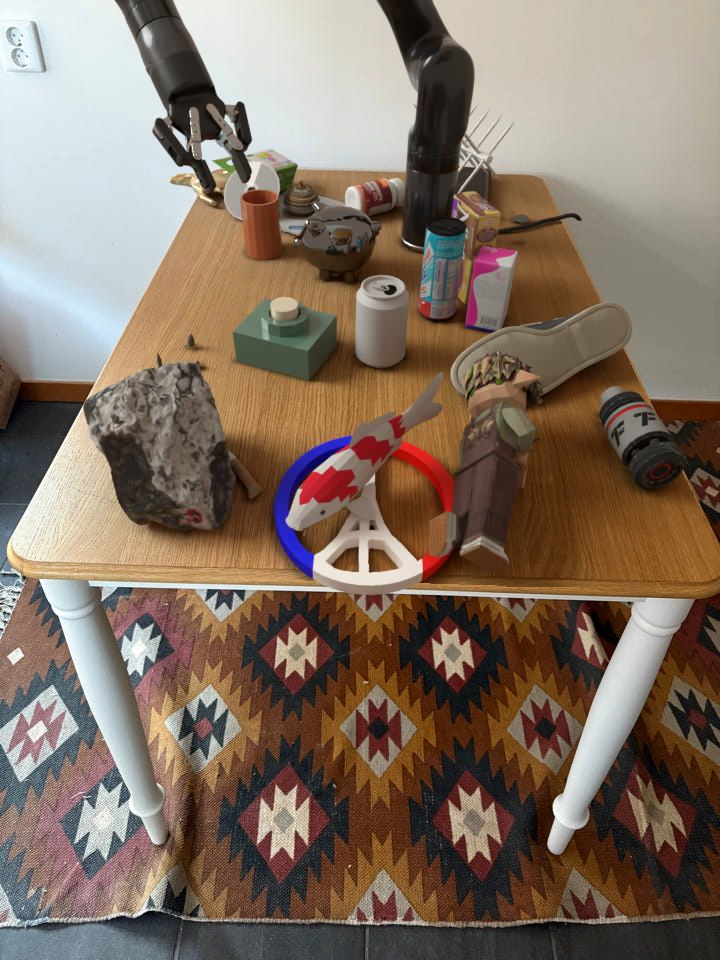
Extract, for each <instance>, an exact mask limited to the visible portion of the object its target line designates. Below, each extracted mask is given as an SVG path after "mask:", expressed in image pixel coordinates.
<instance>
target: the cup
mask: <svg viewBox="0 0 720 960" xmlns="http://www.w3.org/2000/svg"><path fill="white" fill-rule="evenodd" d="M249 190H250V191H247V192H245V193H243V194H242V195H241V197H240V204H241V213H242V220H241V222H242V223H241V224H242V231H243V241H244V250H245V253H246V255H247V256H248V257H249V258H251V259H254V260H259V261H260V260H261V261H262V260H263V261H265V260H271V259H275V258H277V257H279V256H281V254H282V252H283V243H282V242H283V241H282V230H281V225H280V210H279V196H278V195H277V193H275V192H273V191H270V190H263V189H257V190H253V189H249Z"/></svg>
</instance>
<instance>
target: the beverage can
mask: <svg viewBox="0 0 720 960" xmlns="http://www.w3.org/2000/svg"><path fill="white" fill-rule="evenodd" d="M465 234H466V224H465V223H464V222H463V221H461V220H459V219H457V218H453V217H436V218H432V219H430V220H429V221H428V222H427V228H426V236H425V247H424V252H423V259H422V270H421V279H420V280H421V281H420V292H419V302H418V310H419V314H420V316H421V317H423V319H425V320H428V321H431V322H437V323H441V322H446V321H449V320H450V319H452V318H453V316H454V314H455V312H456V307H457V301H458V296H457V293H458V286H459V279H460V272H461V264H462V257H463V249H464V242H465Z"/></svg>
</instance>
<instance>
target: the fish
mask: <svg viewBox="0 0 720 960" xmlns="http://www.w3.org/2000/svg"><path fill="white" fill-rule="evenodd" d="M443 379H444V371H441V372H440V373H438V374H436V375H435V376H434V378H433V379H432V380H431V381H430V382H429V383H428V385H427V386H426V387H425V388H424V390H423V391H422V392H421V393H420V395H419V396H418V397H417V398H416V399H415V401H414V402H413V403H412V404H411V405H410V407H409V408H407V410H405V411H404V412H402V413H401V414H398V415H397V411H390V412H387V413H384V414H381V415H380V416H378V417H376V418H375V419H373V420H371V421H370V422H364V421H362V422H361V423H360V424H359V425H357V427H356V428H355V430H354V432H353V434H352V435H351V436H352V439H351V441H350V444H349V445H347V446H346V447H344V448H343V449H341V450H340V451H338V452H337V453H335V454H334V455H332V456H331V457H330V458H328V459H327V460H326V461H325V462H324V463H322V464H321V465H319V466H317V467H316V468H314V469H313V470H312V471H311V473H309V474H308V476H307V478H306V479H305V480H304V481H303V482H302V484H301V485H300V486H299V487H298V488H297V489H296V491H295V495H294V498H293V500H292V504H291V505H290V509H289V515H288V517H287V518H286V523H287V525H288V526H289V527H291V528H293V530H295V531H297V532H298V531H299V532H301V531H303V535H305V534H306V529H307V528H309V527H310V526H312V525H314V524H317V523H319V522H321V521H323V520H325V519H327V518H328V517H330V516H332V515H333V514H336V513H337V512H339V511H341V510H342V509H343V508H344V507H346V509H348V510H349V511H350V513H351V512H353V513H354V514H356V515H357V516H359V517H362V518H365V519H369V520H375V511H374V509H373V507H372V504H371V502H370V501H369V499H368V497H366V496H362V497H361V496H360V497H358V498H356V499H354V497H356V496H357V495H358V493H359V492H360V491H362V490H363V487H364V486H365V485H366V483H368V482H369V480H370V479H371V478H372V477H373V475H374V474H375V475H376V473H377V472H378V471H379V470H380V468H381V467H382V466H383V464H385V462H386V461H387V460H388V459H389V457H391V456H390V455H391V454H393V453H394V452H395V451H396V450H397V449H398V448H399V447H401V444H402V441H404V440H403V437H404V436H405V435H406V434H407V433H408V432H409V431H411V430H413V428H415V427H417V426H419V425H421V424H424V423H426V422H428V421H430V420H432V419H434V418H436V417H437V416H438V415H439V414H441V412H442V411H443V409H444V406H443V404H442V403H441V402H437V401H434V399H435V397H436V395H437V393H438V391H439V389H440V387H441V384H442V381H443Z"/></svg>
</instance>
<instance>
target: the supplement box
mask: <svg viewBox="0 0 720 960" xmlns="http://www.w3.org/2000/svg"><path fill="white" fill-rule="evenodd" d="M517 258H518V250H513V249H506V248H500V247H496V246H495V247H488V246H482V247H481V249H480V252H479V253H478V255H477V257H476V259H475V261H474V267H473V275H472V281H471V289H470V296H469V303H468V304H467V311H466V316H465V317H466V318H465V323H464V324H465V328H467V329H472V330H477V331H482V332H487V333H488V332H489V333H493V332H495V331H498V330H500V329H503V327H504V324H505V321H506V319H507V315H508V308H509V303H510V296H511V292H512V285H513V280H514V275H515V269H516V264H517Z"/></svg>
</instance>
